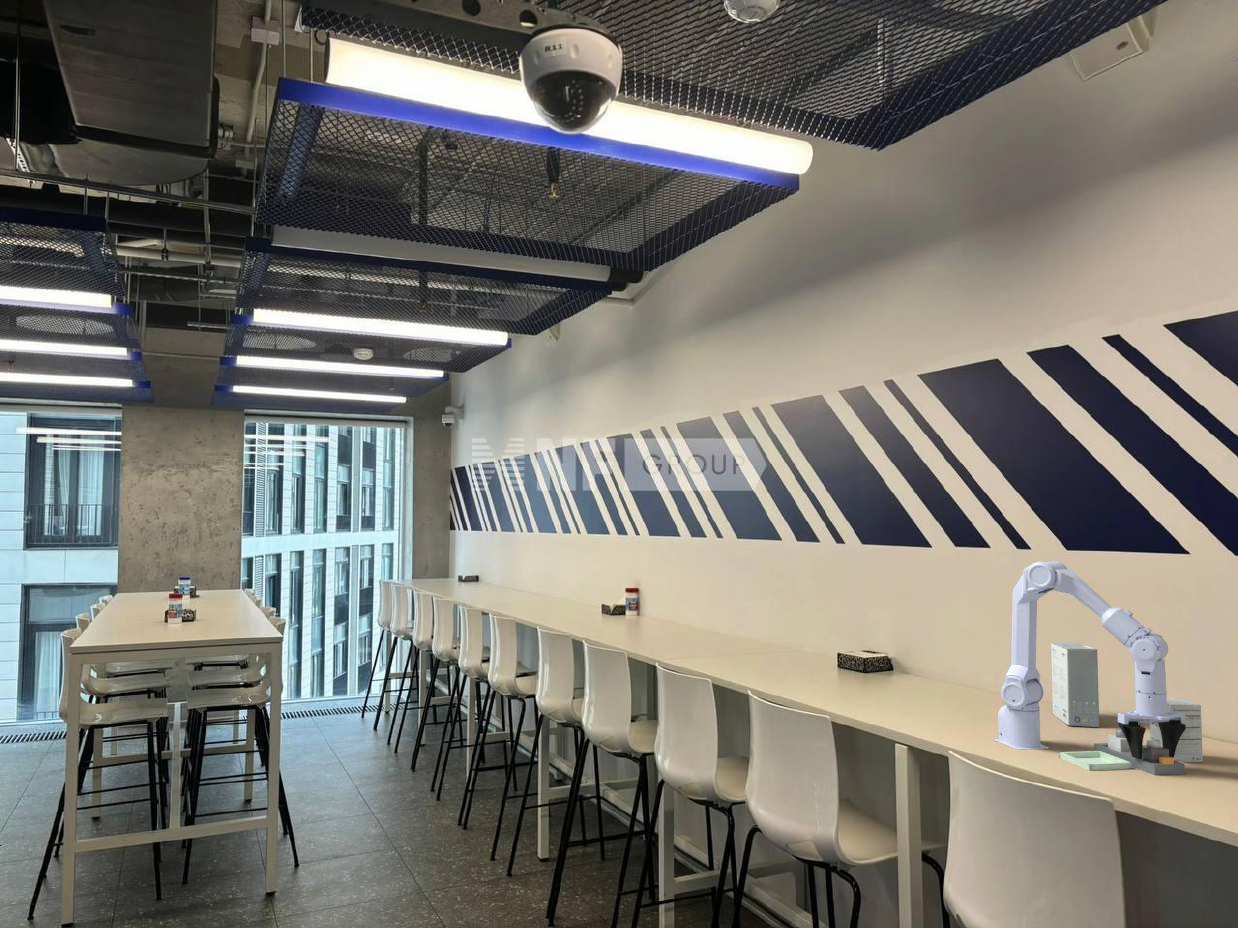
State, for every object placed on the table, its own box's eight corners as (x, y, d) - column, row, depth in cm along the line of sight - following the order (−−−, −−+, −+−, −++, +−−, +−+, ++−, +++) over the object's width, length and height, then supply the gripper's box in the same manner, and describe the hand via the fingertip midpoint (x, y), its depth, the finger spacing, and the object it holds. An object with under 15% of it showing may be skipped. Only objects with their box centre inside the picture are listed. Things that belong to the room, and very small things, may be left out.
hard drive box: (1100, 728, 226) (1098, 649, 227) (1068, 726, 228) (1066, 648, 229) (1081, 715, 241) (1079, 641, 243) (1051, 714, 243) (1049, 640, 244)
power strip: (1094, 754, 199) (1093, 738, 200) (1122, 753, 201) (1121, 737, 201) (1154, 777, 182) (1154, 758, 182) (1184, 775, 183) (1184, 757, 183)
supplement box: (1149, 754, 201) (1147, 697, 201) (1180, 753, 201) (1178, 697, 202) (1172, 762, 193) (1170, 704, 194) (1204, 762, 194) (1202, 703, 195)
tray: (1058, 760, 195) (1058, 752, 195) (1099, 758, 196) (1099, 750, 196) (1089, 772, 185) (1089, 764, 185) (1132, 770, 186) (1132, 762, 187)
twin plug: (1108, 757, 197) (1107, 728, 198) (1124, 757, 198) (1123, 727, 198) (1121, 762, 193) (1120, 732, 194) (1137, 761, 194) (1136, 731, 194)
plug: (1138, 769, 188) (1137, 737, 189) (1155, 768, 189) (1154, 737, 189) (1152, 774, 184) (1151, 742, 185) (1169, 773, 185) (1168, 741, 185)
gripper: (1134, 696, 183) (1136, 763, 182) (1195, 694, 185) (1198, 760, 184) (1109, 690, 190) (1111, 754, 189) (1169, 688, 192) (1172, 752, 191)
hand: (1152, 757), depth 187 cm, fingers open, 7 cm apart
